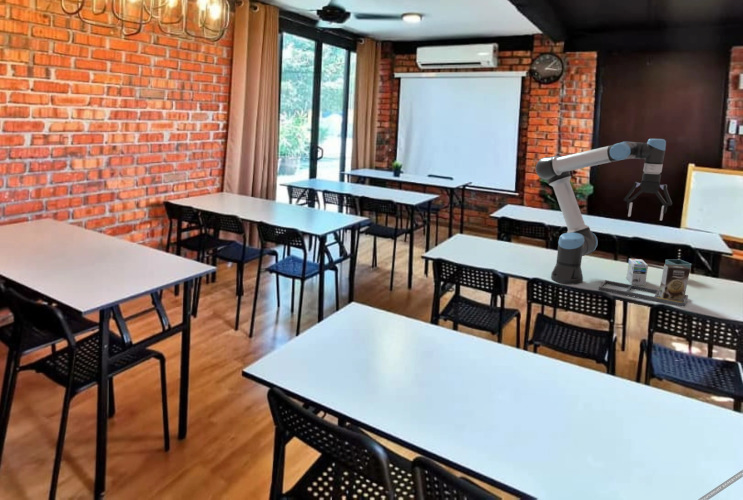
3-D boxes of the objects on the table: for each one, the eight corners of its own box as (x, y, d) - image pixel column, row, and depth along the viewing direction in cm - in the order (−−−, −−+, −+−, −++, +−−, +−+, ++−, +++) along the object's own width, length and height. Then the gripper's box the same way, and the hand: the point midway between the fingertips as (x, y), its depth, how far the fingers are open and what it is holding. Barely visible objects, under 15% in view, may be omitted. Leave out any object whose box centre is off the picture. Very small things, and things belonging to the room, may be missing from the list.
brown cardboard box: (662, 301, 241) (668, 267, 237) (657, 296, 247) (663, 263, 243) (684, 303, 239) (690, 268, 235) (678, 298, 246) (684, 264, 241)
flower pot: (689, 280, 272) (692, 264, 269) (673, 281, 271) (676, 264, 268) (677, 275, 280) (680, 259, 278) (662, 275, 279) (664, 259, 277)
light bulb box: (645, 285, 262) (648, 264, 260) (630, 284, 264) (634, 263, 261) (639, 279, 273) (642, 259, 270) (625, 278, 274) (628, 258, 271)
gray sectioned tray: (598, 290, 254) (599, 286, 254) (604, 283, 265) (605, 279, 264) (684, 306, 235) (685, 303, 234) (687, 298, 245) (688, 294, 245)
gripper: (621, 171, 248) (614, 215, 254) (682, 176, 234) (673, 222, 240) (624, 170, 254) (618, 213, 260) (683, 174, 240) (675, 220, 246)
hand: (644, 218), depth 250 cm, fingers open, 13 cm apart
